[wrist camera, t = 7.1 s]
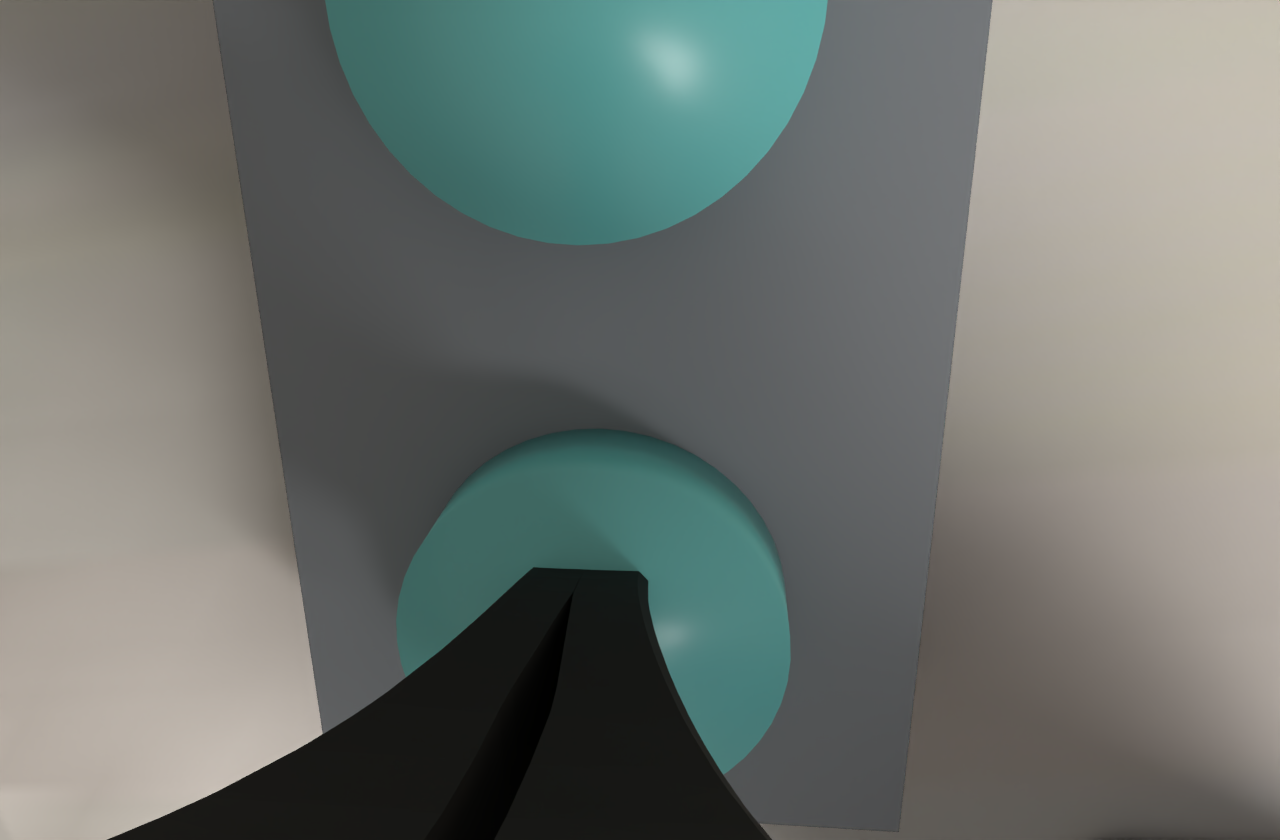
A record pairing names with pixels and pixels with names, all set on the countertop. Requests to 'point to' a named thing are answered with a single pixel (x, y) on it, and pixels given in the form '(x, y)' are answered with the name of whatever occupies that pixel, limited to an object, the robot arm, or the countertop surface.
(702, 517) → the knob
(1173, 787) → the countertop surface
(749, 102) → the knob
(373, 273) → the panel box
